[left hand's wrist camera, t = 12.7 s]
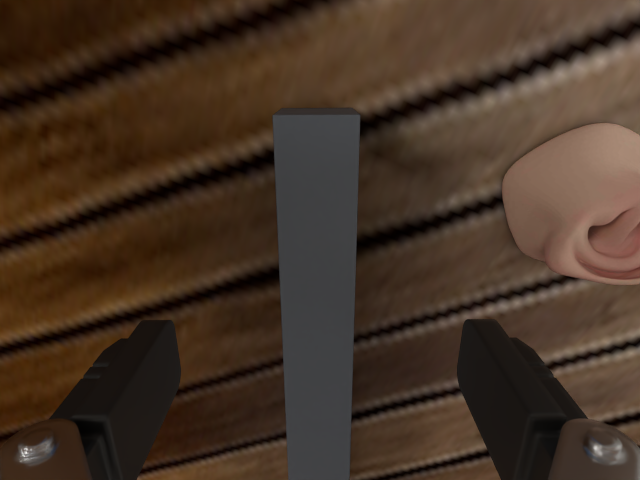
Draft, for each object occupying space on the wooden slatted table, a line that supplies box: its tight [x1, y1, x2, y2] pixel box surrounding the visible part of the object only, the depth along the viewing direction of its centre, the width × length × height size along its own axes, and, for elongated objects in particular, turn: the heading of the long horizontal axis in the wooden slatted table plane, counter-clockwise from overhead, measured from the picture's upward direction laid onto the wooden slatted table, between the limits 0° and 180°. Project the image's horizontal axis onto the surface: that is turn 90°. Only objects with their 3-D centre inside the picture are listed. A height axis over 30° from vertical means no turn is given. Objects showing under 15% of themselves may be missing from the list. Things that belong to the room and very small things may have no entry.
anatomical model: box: [502, 123, 640, 285], centre depth 28 cm, size 13×4×12 cm
